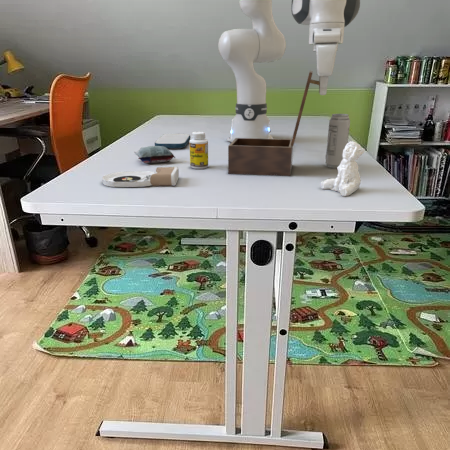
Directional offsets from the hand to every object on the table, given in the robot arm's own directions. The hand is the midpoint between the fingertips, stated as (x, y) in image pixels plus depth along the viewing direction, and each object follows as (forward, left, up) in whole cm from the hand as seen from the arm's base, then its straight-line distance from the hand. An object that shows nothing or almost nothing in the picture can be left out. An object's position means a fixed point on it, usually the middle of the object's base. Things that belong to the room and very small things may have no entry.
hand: (322, 94), depth 125 cm
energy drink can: (-8, +6, -21) cm, 23 cm away
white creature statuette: (+20, +7, -21) cm, 30 cm away
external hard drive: (-38, -54, -20) cm, 69 cm away
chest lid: (0, -6, -3) cm, 7 cm away
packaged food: (-6, -51, -21) cm, 56 cm away
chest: (0, -16, -21) cm, 27 cm away
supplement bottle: (0, -35, -21) cm, 41 cm away
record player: (+20, -47, -21) cm, 55 cm away
